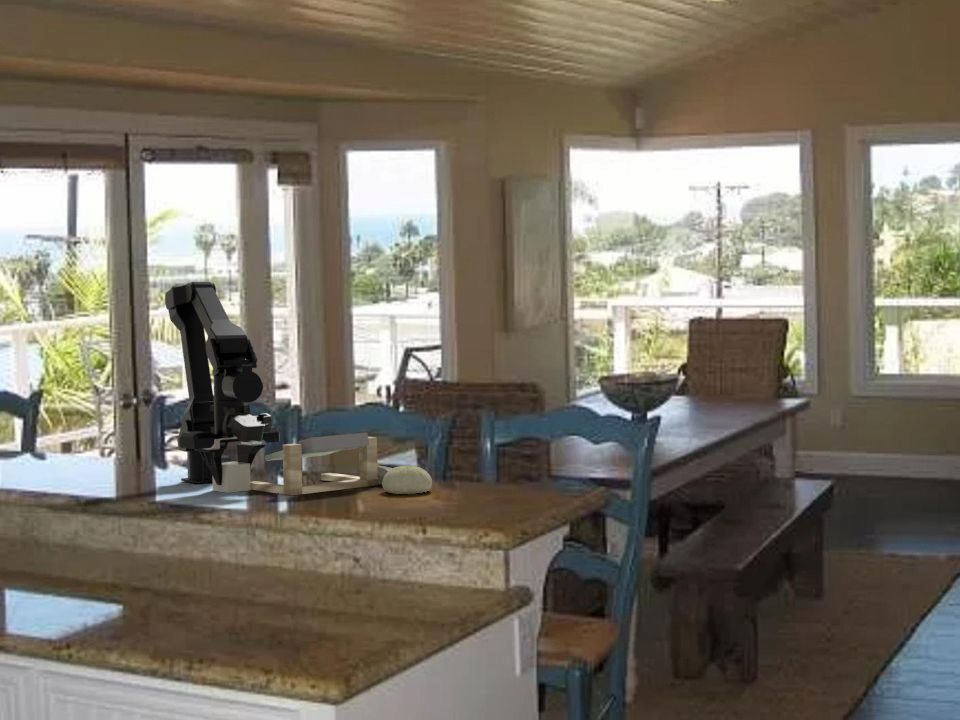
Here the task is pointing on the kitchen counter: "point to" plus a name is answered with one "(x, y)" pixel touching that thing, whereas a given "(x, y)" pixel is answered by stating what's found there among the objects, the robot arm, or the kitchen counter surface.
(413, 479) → the sea urchin shell
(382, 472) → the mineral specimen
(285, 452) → the frame
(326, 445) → the trapdoor
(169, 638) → the kitchen counter surface
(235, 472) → the off-white cube
